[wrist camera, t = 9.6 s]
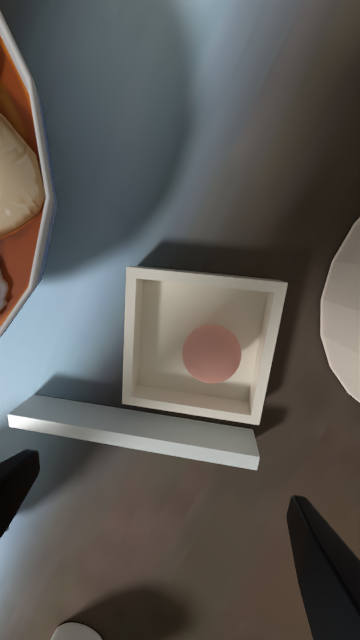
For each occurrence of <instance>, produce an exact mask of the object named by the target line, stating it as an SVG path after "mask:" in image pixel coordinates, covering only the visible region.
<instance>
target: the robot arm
mask: <svg viewBox="0 0 360 640" xmlns="http://www.w3.org/2000/svg"><path fill="white" fill-rule="evenodd" d="M39 471H40V463H39V452H38V451H37V450H31V449H26V450H23V451H22V452H20V453H18V454H16V455H14V456H12V457H10V458H9V459H7V460H5V461H3V462H1V463H0V538H1V537H2V535H3V534H4V532H5V530H6V529H7V527H8V526H9V524H10V523H11V521H12V520H13V518H14V516H15V515H16V513H17V511H18V509H19V508H20V506H21V504H22V502H23V501H24V499H25V497H26V495H27V494H28V492H29V490H30V488H31V487H32V485H33V483H34V481H35V480H36V478H37V476H38V474H39ZM287 524H288V529H289V535H290V540H291V546H292V551H293V557H294V563H295V568H296V573H297V578H298V583H299V587H300V591H301V595H302V599H303V603H304V606H305V610H306V614H307V618H308V621H309V625H310V629H311V633H312V636H313V640H360V560H359V559H358V557H357V556H356V555H355V554H354V553H353V552H352V550H351V549H350V548H349V547H348V546H347V545H346V543H345V542H344V541H343V540H342V539H341V538H340V536H339V535H338V534H337V533H336V532H335V531H334V529H333V528H332V527H331V526H330V525H329V524H328V523H327V521H326V520H325V519H324V518H323V517H322V516H321V514H320V513H319V512H318V511H317V510H316V509H315V507H314V506H313V505H312V504H311V503H310V502H309V500H308V499H307V498H305V497H303V496H297V495H293V496H292V497H291V500H290V504H289V507H288V511H287Z"/></svg>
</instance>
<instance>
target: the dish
mask: <svg viewBox="0 0 360 640" xmlns="http://www.w3.org/2000/svg"><path fill="white" fill-rule="evenodd" d="M287 285H288V283H287V282H284V281H281V280H276V279H266V278H256V277H246V276H236V275H226V274H216V273H206V272H196V271H186V270H176V269H165V268H155V267H145V266H129V267H126V297H125V328H124V358H123V388H122V404H127V405H133V406H140V407H146V408H152V409H159V410H165V411H171V412H178V413H184V414H191V415H197V416H203V417H210V418H216V419H222V420H229V421H235V422H241V423H248V424H254V425H259V424H260V419H261V414H262V409H263V404H264V399H265V394H266V389H267V384H268V379H269V374H270V369H271V364H272V359H273V354H274V350H275V345H276V340H277V335H278V330H279V325H280V320H281V315H282V310H283V305H284V300H285V295H286V290H287ZM209 324H214V325H219V326H222V327H225V328H226V329H228V330H229V331H231V332H232V333H233V334H234V335H235V337H236V338H237V340H238V342H239V344H240V347H241V361H240V365H239V367H238V369H237V371H236V372H235V373H234V374H233V375H232V376H231V377H230V378H229V379H227V380H225V381H223V382H220V383H214V384H212V383H205V382H202V381H199V380H197V379H196V378H194V377H193V376H192V375H191V374H190V373H189V372H188V370H187V369H186V367H185V365H184V362H183V358H182V349H183V345H184V342H185V340H186V338H187V337H188V335H189V334H190V333H191V332H192V331H193V330H195V329H196V328H198V327H200V326H203V325H209Z"/></svg>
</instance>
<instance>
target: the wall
mask: <svg viewBox="0 0 360 640" xmlns="http://www.w3.org/2000/svg"><path fill="white" fill-rule="evenodd" d="M8 421H9V427H12V428H18V429H24V430H29V431H35V432H41V433H47V434H52V435H58V436H64V437H69V438H75V439H81V440H87V441H92V442H98V443H104V444H109V445H115V446H121V447H127V448H132V449H138V450H144V451H149V452H155V453H161V454H167V455H172V456H178V457H184V458H189V459H195V460H201V461H207V462H212V463H218V464H224V465H229V466H235V467H241V468H247V469H252V470H257V467H258V463H259V458H260V456H259V452H258V448H257V444H256V440H255V436H254V431H253V429H248V428H242V427H235V426H229V425H223V424H216V423H210V422H204V421H198V420H191V419H185V418H179V417H172V416H166V415H160V414H154V413H147V412H141V411H135V410H128V409H122V408H116V407H110V406H103V405H97V404H91V403H84V402H78V401H72V400H66V399H59V398H53V397H47V396H40V395H32V396H31V397H30V398H28V399H27V400H26V401H25V402H23V403H22V404H21V405H19V406H18V407H17V408H15V409H14V410H13V411H11V412H10V413H9V414H8Z"/></svg>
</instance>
